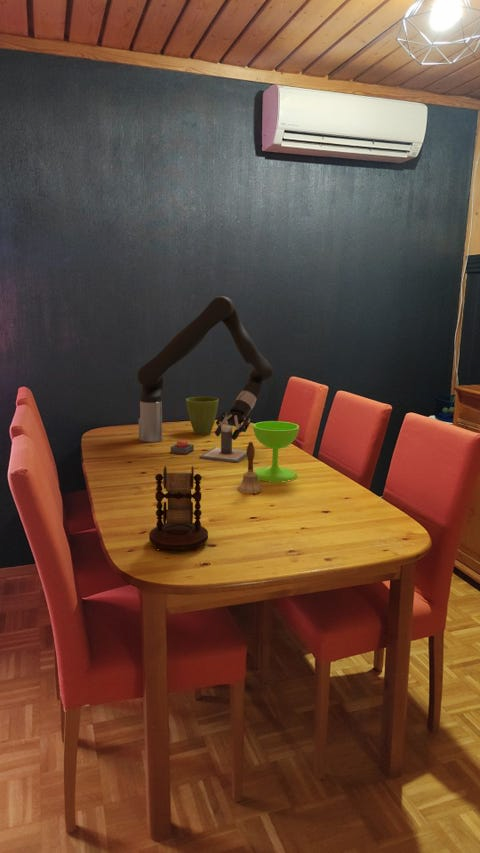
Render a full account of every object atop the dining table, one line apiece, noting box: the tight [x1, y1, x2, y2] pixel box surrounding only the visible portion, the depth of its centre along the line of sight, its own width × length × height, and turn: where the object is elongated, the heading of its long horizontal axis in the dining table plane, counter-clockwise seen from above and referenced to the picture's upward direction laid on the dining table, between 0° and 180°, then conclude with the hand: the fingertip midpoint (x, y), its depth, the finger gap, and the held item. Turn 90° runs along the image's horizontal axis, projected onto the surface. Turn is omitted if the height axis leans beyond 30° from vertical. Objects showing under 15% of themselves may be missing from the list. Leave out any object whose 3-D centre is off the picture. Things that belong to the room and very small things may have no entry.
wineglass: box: [252, 420, 300, 483], centre depth 203 cm, size 16×16×18 cm
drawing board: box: [199, 446, 247, 464], centre depth 230 cm, size 16×16×1 cm
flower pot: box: [185, 396, 219, 436], centre depth 266 cm, size 15×15×16 cm
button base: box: [170, 443, 195, 456], centre depth 234 cm, size 7×7×2 cm
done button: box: [176, 440, 189, 448], centre depth 234 cm, size 4×4×2 cm
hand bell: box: [236, 441, 263, 494], centre depth 187 cm, size 8×8×16 cm
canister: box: [220, 424, 233, 454], centre depth 229 cm, size 4×4×11 cm
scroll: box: [148, 465, 209, 551], centre depth 145 cm, size 15×15×20 cm
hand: (224, 437), depth 228 cm, fingers open, 8 cm apart
